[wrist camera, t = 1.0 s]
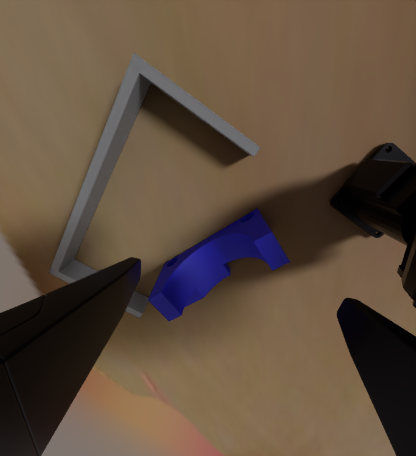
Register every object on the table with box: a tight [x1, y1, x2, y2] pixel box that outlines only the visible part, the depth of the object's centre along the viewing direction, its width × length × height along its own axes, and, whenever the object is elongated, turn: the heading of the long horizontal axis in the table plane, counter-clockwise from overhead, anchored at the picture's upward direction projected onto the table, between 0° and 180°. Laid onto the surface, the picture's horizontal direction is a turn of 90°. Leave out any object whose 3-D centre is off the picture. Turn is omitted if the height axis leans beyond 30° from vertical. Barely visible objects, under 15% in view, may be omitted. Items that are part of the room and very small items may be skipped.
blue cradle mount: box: [148, 208, 290, 321], centre depth 19 cm, size 12×4×6 cm, turn 124°
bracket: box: [49, 53, 260, 318], centre depth 19 cm, size 11×22×2 cm, turn 147°
